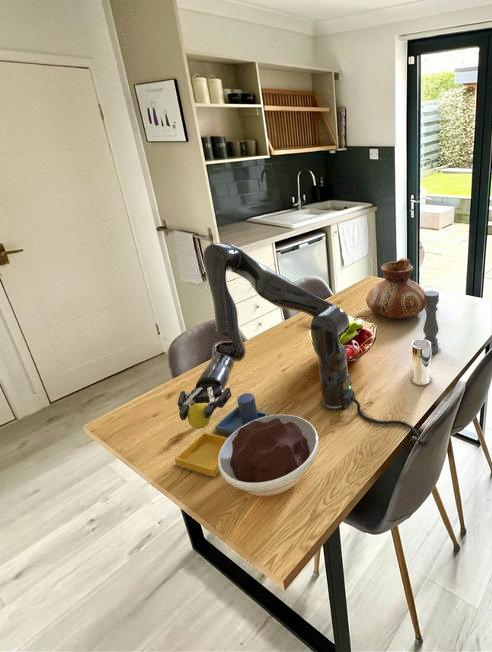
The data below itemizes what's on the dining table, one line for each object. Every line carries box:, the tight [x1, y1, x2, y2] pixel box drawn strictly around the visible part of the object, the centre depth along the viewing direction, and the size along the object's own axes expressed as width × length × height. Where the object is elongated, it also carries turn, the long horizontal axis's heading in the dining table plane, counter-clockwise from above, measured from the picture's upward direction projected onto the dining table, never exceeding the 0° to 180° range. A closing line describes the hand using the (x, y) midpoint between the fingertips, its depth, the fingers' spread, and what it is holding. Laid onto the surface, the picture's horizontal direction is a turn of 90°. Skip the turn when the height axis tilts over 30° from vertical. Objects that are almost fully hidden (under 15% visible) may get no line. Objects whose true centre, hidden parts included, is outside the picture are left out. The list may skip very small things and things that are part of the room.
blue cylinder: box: [236, 392, 259, 425], centre depth 123 cm, size 5×5×9 cm
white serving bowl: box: [218, 413, 320, 497], centre depth 102 cm, size 25×25×15 cm
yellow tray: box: [174, 431, 228, 478], centre depth 111 cm, size 13×11×2 cm
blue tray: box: [215, 405, 270, 436], centre depth 123 cm, size 12×10×2 cm
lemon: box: [186, 403, 212, 430], centre depth 106 cm, size 6×6×8 cm
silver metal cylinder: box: [410, 338, 432, 386], centre depth 140 cm, size 7×7×15 cm
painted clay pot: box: [365, 257, 426, 320], centre depth 193 cm, size 30×30×25 cm
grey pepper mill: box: [422, 290, 440, 355], centre depth 157 cm, size 6×6×25 cm
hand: (194, 416), depth 103 cm, fingers closed on lemon, 5 cm apart
